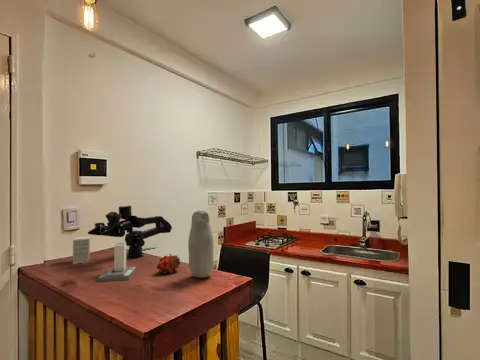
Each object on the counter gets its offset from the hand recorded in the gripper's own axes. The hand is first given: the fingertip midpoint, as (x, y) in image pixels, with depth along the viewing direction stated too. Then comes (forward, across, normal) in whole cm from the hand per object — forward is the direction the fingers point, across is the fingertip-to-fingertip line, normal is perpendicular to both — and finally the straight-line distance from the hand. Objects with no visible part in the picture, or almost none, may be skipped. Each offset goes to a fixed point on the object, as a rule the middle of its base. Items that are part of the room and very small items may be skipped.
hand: (94, 233), depth 130 cm
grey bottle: (-8, +54, +18) cm, 57 cm away
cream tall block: (+2, +18, +15) cm, 23 cm away
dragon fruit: (-8, +37, +18) cm, 41 cm away
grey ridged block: (-4, -18, +17) cm, 25 cm away
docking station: (+4, +19, +16) cm, 26 cm away
